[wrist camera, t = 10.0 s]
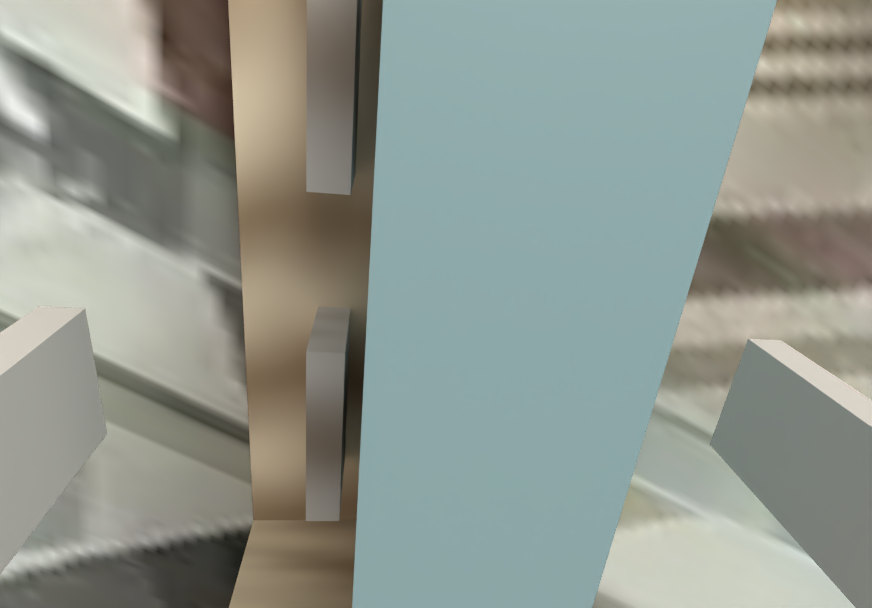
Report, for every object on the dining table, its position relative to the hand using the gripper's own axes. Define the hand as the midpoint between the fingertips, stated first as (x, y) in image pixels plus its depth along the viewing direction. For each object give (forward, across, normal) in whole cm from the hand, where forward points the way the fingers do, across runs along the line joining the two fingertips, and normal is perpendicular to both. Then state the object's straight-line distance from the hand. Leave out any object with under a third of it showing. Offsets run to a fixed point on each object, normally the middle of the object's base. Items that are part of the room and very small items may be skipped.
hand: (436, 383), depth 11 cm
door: (+9, 0, 0) cm, 9 cm away
